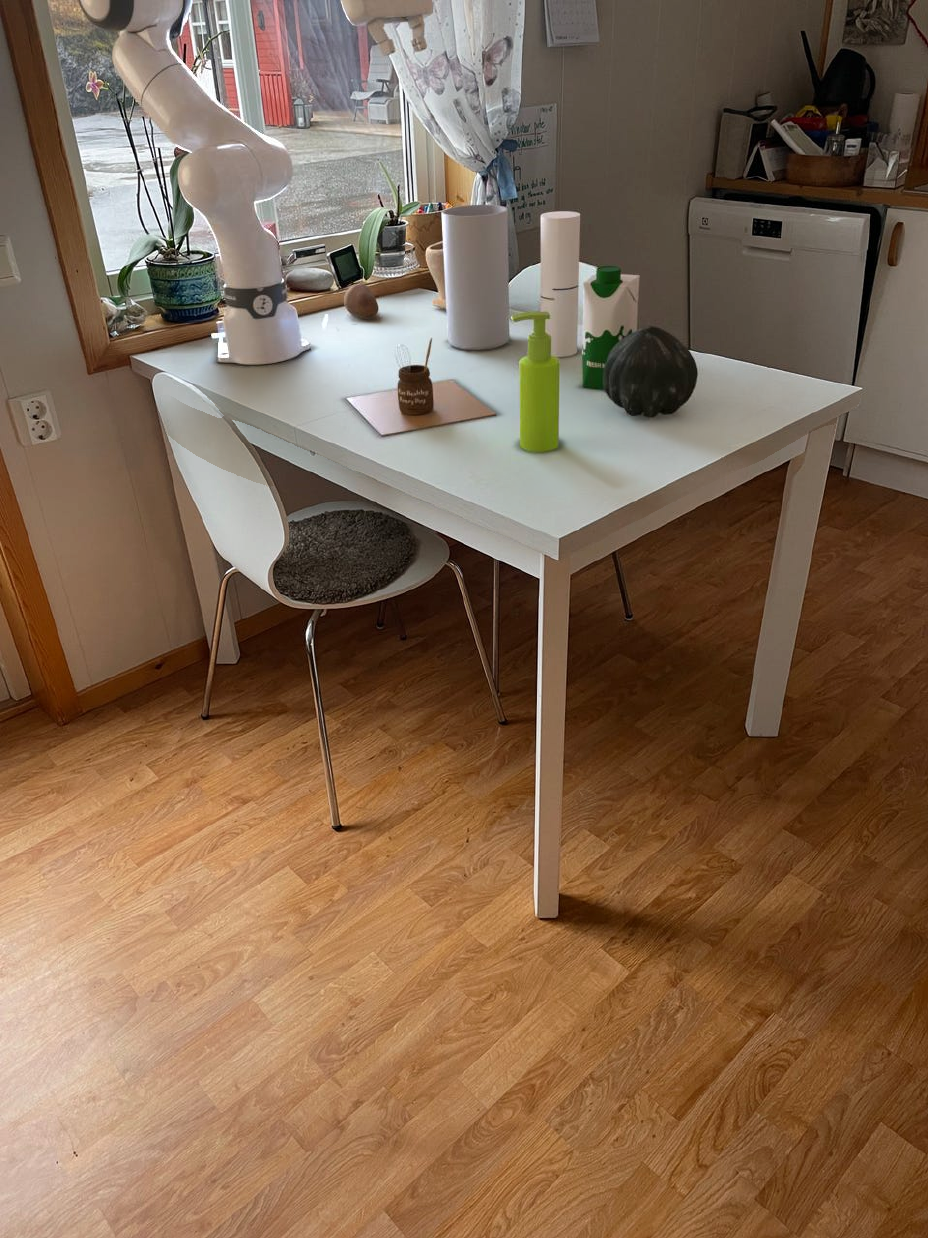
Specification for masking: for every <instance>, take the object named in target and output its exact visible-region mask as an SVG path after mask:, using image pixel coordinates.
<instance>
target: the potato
mask: <svg viewBox="0 0 928 1238" xmlns="http://www.w3.org/2000/svg"><path fill="white" fill-rule="evenodd" d="M343 304H344V307H345V309H346V310H347V312H348V313H349V314H350V315H352V316H354V317H357V318H358V319H364V320H368V319H372V318H374V317H375V316H377V315H378V313H379V303H378V301H377V299H376V297H374V293H373V292H372V290H371V289H370V287H369V286H367V285H365V284H363V283H357V284H356V283H355V284H353V285H350V286H349V288H348V289H347V290H346V291H345V293H344V295H343Z"/></svg>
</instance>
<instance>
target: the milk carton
mask: <svg viewBox="0 0 928 1238" xmlns="http://www.w3.org/2000/svg"><path fill="white" fill-rule="evenodd" d="M595 271H596V272H595V274H594V275H591V276H590V277H589V278H587V279H586V280H585V281H584V282H582V290H583V291H582V302H583V303H582V304H583V305H582V337H581V338H582V341H581V342H582V345H581V371H582V375H581V376H582V388H587V389H588V388H589V389H596V390H597V389H598V390H605V389H604V384H603V373H604V367H605V364H606V361H607V358H608V355H609V353H610V351H611V350H612V349H613V347H614V346H615V345H616V344H617V343H618V342H619V341H620V340H622V339H623V338H625V337H626V336H628V335H629V334H631V333H633V332H635V331H637V330H638V327H637V326H638V312H639V311H638V309H639V308H638V305H639V289H640V277H641V276H640V275H639V274H626V273H622V268H621V267H619V266H617V265H602V266H599V267H597V268H596V269H595Z"/></svg>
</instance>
